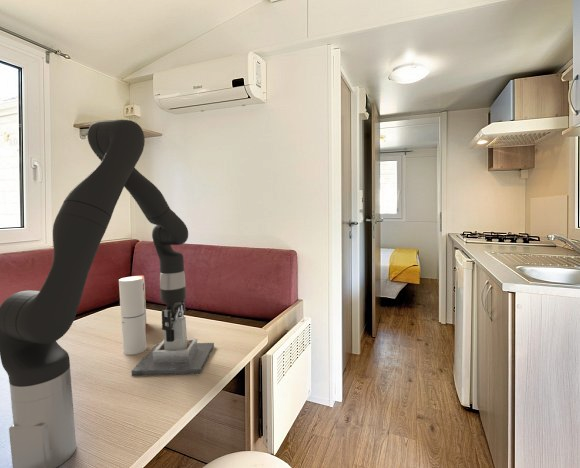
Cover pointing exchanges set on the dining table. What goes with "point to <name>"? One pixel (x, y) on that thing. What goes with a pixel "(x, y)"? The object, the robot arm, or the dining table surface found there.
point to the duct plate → (174, 360)
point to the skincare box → (177, 336)
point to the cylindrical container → (132, 315)
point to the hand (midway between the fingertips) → (175, 335)
